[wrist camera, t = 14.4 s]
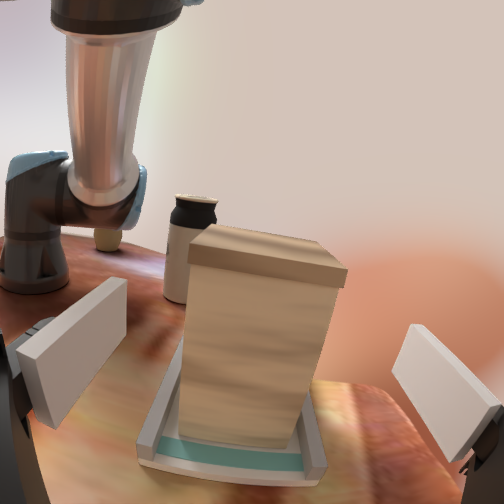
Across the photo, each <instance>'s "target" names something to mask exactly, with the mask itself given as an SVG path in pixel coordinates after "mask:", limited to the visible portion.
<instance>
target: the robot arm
mask: <svg viewBox="0 0 504 504" xmlns="http://www.w3.org/2000/svg"><path fill="white" fill-rule="evenodd" d="M0 1H14V0H0ZM203 1H204V0H51V24H52V26H53V27H54V28H55V29H56V30H58V31H60V32H61V33H63V34H65V35H66V87H67V104H68V117H69V127H70V135H71V143H72V151H73V160H69V159H68V158H69V156H68V153H67V152H66V151H39V152H31V153H26V154H21V155H18V156H16V157H14V158H13V159H12V160H11V161H10V164H9V168H8V174H7V180H6V193H5V194H6V195H5V219H4V227H5V228H4V233H5V234H4V244H3V248H2V252H1V257H0V285H1V286H2V287H3V288H4V289H6V290H8V291H11V292H15V293H21V294H40V293H46V292H50V291H54V290H57V289H59V288H61V287H63V286H64V285H66V284H67V282H68V280H69V268H68V264H67V261H66V257H65V254H64V251H63V247H62V243H61V239H60V233H61V226H72V227H73V226H74V227H85V228H97V229H109V230H113V231H119V230H131V229H133V228H134V227H135V226H136V224H137V222H138V219H139V216H140V213H141V206H142V204H143V200H144V195H145V189H146V180H147V171H146V169H145V167H144V166H141V165H139V164H138V162H137V159H136V158H135V156H134V155H133V153H132V149H133V142H134V135H135V129H136V123H137V117H138V111H139V105H140V100H141V95H142V90H143V86H144V81H145V76H146V72H147V68H148V63H149V59H150V55H151V51H152V47H153V44H154V40H155V36H156V33H157V31H159V30H161V29H163V28H166V27H168V26H169V25H171V24H173V23H174V22H175V21H176V20H177V19H178V17H179V16H180V13H181V10H182V7H183V5H184V6H191V5H200V4H201V3H203ZM126 307H127V280H126V279H121V278H117V277H113V276H112V277H110V278H109V279H108V280H106V281H105V282H103V283H102V284H101V285H99V286H98V287H96V288H95V289H94V290H92V291H91V292H90V293H88V294H87V295H85V296H84V297H83V298H81V299H80V300H79V301H77V302H76V303H75V304H73V305H72V306H71V307H69V308H68V309H67V310H65V311H64V312H63V313H61V314H60V315H59V316H57V317H56V318H55V317H49V318H46V319H43V320H41V321H39V322H38V323H37V324H35V325H34V326H33V327H32V329H31V328H30V329H29V330H27V331H26V332H25V334H24V333H23V334H22V335H21V336H19V337H18V338H17V339H15V340H14V341H13V342H12V343H10V344H9V345H8V346H7V347H5V344H4V340H3V335H2V331H1V328H0V504H51V503H50V500H49V497H48V494H47V491H46V488H45V485H44V482H43V478H42V475H41V471H40V468H39V464H38V460H37V456H36V452H35V447H34V443H33V438H32V433H31V427H30V421H29V419H28V416H27V414H28V413H29V411H30V410H31V409H32V408H33V410H34V413H35V416H36V418H37V420H38V421H40V422H42V423H43V424H45V425H47V426H49V427H51V428H54V429H57V428H58V426H59V425H60V423H61V422H62V420H63V419H64V418H65V416H66V415H67V413H68V412H69V411H70V409H71V408H72V406H73V405H74V404H75V402H76V401H77V399H78V398H79V397H80V395H81V394H82V393H83V391H84V390H85V388H86V387H87V386H88V384H89V383H90V382H91V380H92V379H93V378H94V376H95V375H96V374H97V372H98V371H99V370H100V368H101V367H102V366H103V364H104V363H105V362H106V360H107V359H108V358H109V357H110V355H111V354H112V353H113V351H114V350H115V349H116V347H117V346H118V345H119V344H120V342H121V341H122V340H123V338H124V337H125V336H126V335H127V333H126ZM392 373H393V374H394V376H395V377H396V379H397V380H398V382H399V383H400V385H401V386H402V388H403V389H404V391H405V393H406V394H407V395H408V397H409V399H410V400H411V402H412V403H413V405H414V406H415V408H416V410H417V411H418V413H419V414H420V416H421V418H422V419H423V421H424V422H425V424H426V425H427V427H428V429H429V430H430V432H431V433H432V435H433V437H434V438H435V440H436V442H437V443H438V445H439V447H440V448H441V450H442V452H443V453H444V455H445V456H446V458H447V460H448V462H449V463H451V462H454V461H458V460H461V459H463V458H464V457H465V455H466V454H467V453H468V452H469V450H470V449H471V448H472V449H473V450H474V452H475V453H474V454H473V455H472V456H471V458H470V459H469V460H468V461H467V462H466V463H465V465H464V466H463V467H462V468H461V469H460V471H459V473H462V472H463V470H464V469H466V468H468V470H467V471H466V472H465V473H464V475H467V478H466V483H465V488H464V492H463V496H462V501H461V504H504V407H503V406H502V403H501V402H500V401H499V400H498V399H497V398H496V397H495V396H494V395H493V394H492V393H491V392H490V391H489V390H488V388H487V387H486V386H485V385H484V384H483V383H482V382H481V381H480V380H479V379H478V378H477V377H476V376H475V375H474V374H473V373H472V372H471V371H470V370H469V369H468V368H467V367H466V366H465V365H464V364H463V363H462V362H461V361H460V360H459V359H458V358H457V357H456V356H455V355H454V354H452V352H451V351H450V350H449V349H447V348H446V346H445V345H443V344H442V343H441V342H440V341H439V340H438V339H437V338H436V337H435V336H434V335H433V334H432V333H431V332H430V331H429V330H428V329H426V328H425V327H424V326H423V325H418V324H411V325H410V327H409V330H408V333H407V335H406V338H405V340H404V343H403V345H402V348H401V351H400V353H399V355H398V357H397V360H396V362H395V364H394V367H393V369H392Z"/></svg>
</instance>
